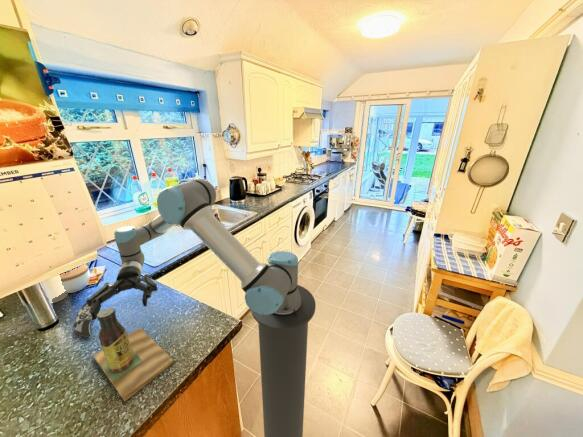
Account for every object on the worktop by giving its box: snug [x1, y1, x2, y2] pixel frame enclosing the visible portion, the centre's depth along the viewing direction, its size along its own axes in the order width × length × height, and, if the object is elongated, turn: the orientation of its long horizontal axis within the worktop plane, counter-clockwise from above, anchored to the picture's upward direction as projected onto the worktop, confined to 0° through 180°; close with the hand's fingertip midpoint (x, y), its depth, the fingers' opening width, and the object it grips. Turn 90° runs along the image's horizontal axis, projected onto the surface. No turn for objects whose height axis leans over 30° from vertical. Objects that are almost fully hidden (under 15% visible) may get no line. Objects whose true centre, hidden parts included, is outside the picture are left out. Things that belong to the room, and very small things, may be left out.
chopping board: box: [93, 327, 174, 402], centre depth 75 cm, size 22×14×2 cm, turn 55°
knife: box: [73, 301, 93, 338], centre depth 94 cm, size 28×2×10 cm
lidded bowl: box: [60, 263, 91, 294], centre depth 106 cm, size 13×13×11 cm
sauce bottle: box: [96, 307, 133, 373], centre depth 69 cm, size 7×6×20 cm
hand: (119, 309), depth 75 cm, fingers open, 13 cm apart
